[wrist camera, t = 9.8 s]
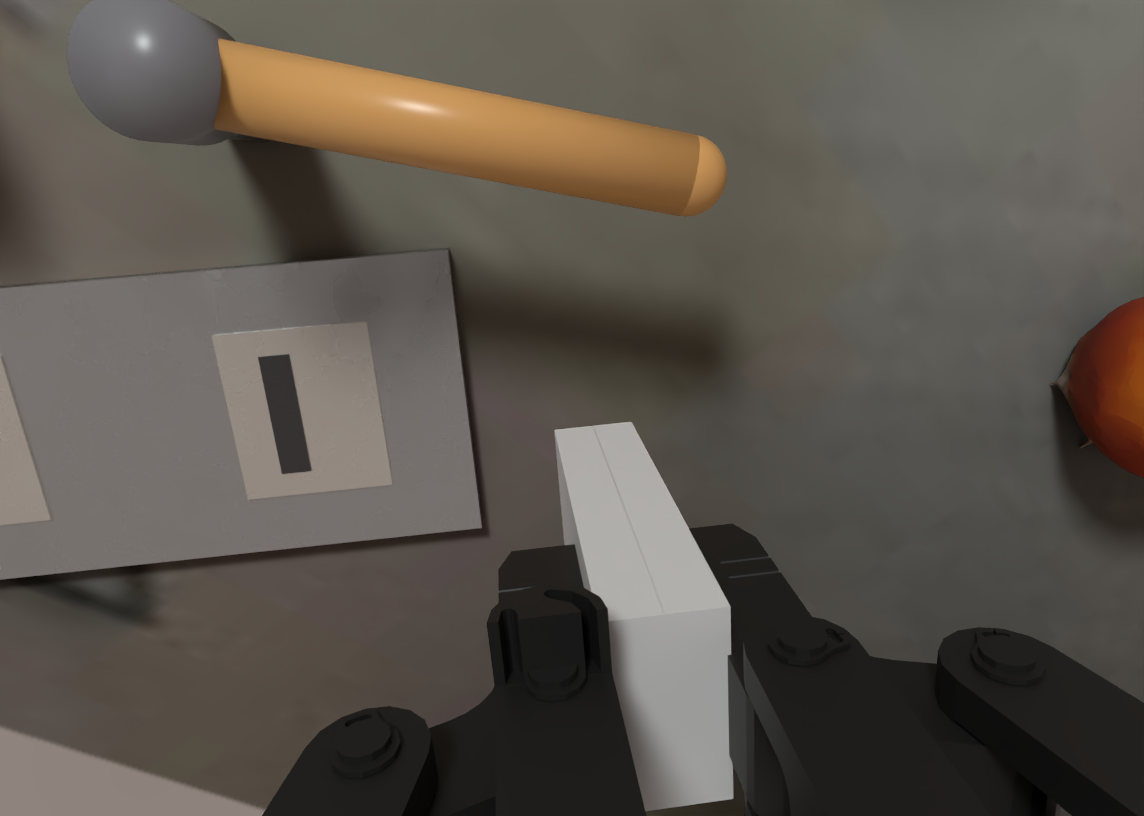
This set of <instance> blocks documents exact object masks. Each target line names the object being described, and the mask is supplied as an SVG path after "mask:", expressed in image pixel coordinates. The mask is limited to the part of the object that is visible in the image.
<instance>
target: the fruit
mask: <svg viewBox="0 0 1144 816" xmlns="http://www.w3.org/2000/svg"><path fill="white" fill-rule="evenodd" d="M1052 384H1054V385H1056V386H1057V387H1059V388H1060V389H1061V390H1062V392H1063V394H1064V396H1065V397H1066V399H1067V401H1068V403H1069V405H1070V407H1071V409H1072V411H1073V413H1074V415H1075V418H1076V420H1077V422H1078V424H1079V426H1080V428H1081V429H1082V431H1083V432H1084V433H1085V434H1086V436H1087V437H1088V438H1089V439H1088V440H1087V441H1086V443H1084V444H1083V445H1081V446H1080V447H1079V449H1080V448H1083V447H1085V446H1087V445H1090V444H1092V443H1094V444H1095V446H1096V447H1097V448H1098V449H1099V450H1100V451H1101V452H1102V453H1103V454H1105V455H1106V456H1107V457H1108V458H1109V459H1111V460H1112V461H1113V462H1114V463H1116V464H1117V465H1118V466H1120V467H1121V468H1123V469H1125V470H1127V471H1129V472H1131V473H1133V474H1135V475H1138V476H1140V477H1143V478H1144V297H1142V298H1139V299H1135V300H1132V301H1130V302H1128V303H1126V304H1124V305H1122V306H1120V307H1118V308H1116V309H1115V310H1113V311H1112V312H1110V313H1109V314H1108V315H1107V316H1106V317H1105V318H1104V319H1103V320H1102V321H1100V322H1099V323H1098V324H1097V325H1096V326H1095V327H1094V328H1092V329H1091V330H1090V331H1088V332H1087V333H1086V334H1085V335H1084V336H1083V337H1082V338H1081V339H1080V340H1079V341H1078V343H1077V345H1076V347H1075V350H1074V351H1073V353H1072V354H1071V357H1070V360H1069V362H1068V364H1067V366H1066V368H1065V370H1064V372H1063V374H1062V375H1061V376H1060V377H1059V378H1058V379H1057V381H1056V382H1052Z"/></svg>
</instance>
